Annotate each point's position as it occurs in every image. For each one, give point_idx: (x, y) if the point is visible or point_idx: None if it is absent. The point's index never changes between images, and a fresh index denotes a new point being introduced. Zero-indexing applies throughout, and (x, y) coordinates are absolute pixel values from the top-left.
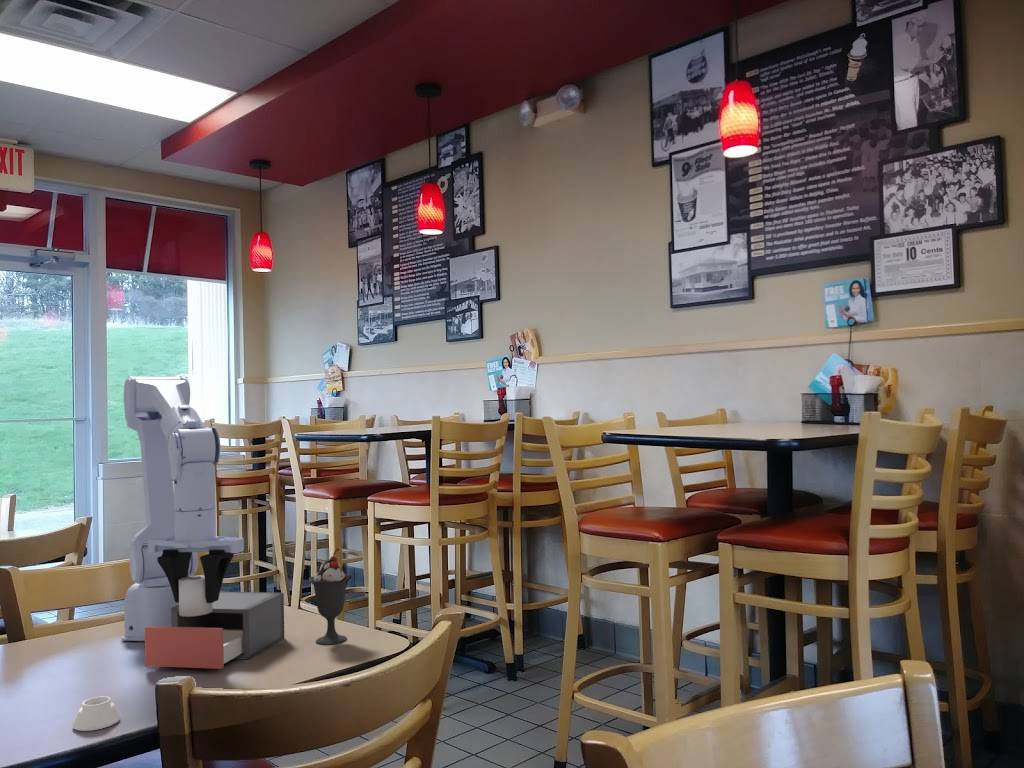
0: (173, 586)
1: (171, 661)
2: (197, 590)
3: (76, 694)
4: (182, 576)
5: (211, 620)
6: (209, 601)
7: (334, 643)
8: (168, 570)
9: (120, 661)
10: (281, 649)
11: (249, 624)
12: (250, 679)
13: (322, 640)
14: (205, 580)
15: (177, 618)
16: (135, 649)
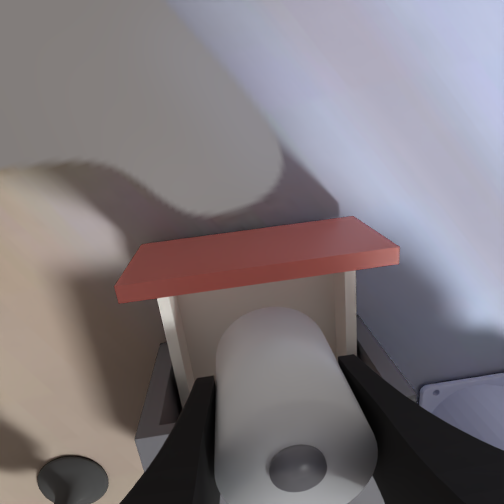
0: (380, 390)
1: (282, 229)
2: (236, 390)
3: (410, 18)
4: (385, 469)
5: None
6: (200, 381)
7: (44, 466)
8: (446, 446)
9: (458, 259)
10: (139, 412)
11: (144, 404)
12: (41, 228)
13: (77, 469)
14: (199, 444)
15: (380, 375)
16: (475, 333)
